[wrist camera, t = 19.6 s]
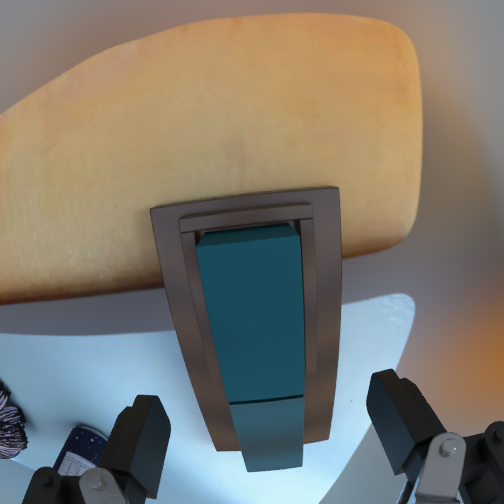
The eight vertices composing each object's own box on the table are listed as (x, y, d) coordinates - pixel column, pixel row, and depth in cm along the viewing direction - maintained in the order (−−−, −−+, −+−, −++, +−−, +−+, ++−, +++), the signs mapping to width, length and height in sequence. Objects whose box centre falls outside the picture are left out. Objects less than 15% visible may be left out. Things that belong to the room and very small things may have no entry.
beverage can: (67, 418, 22) (29, 489, 11) (103, 426, 22) (68, 508, 11) (88, 446, 24) (60, 512, 12) (123, 453, 24) (99, 528, 12)
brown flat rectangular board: (155, 206, 16) (127, 217, 12) (333, 185, 16) (361, 191, 12) (217, 442, 23) (214, 477, 19) (326, 431, 23) (335, 464, 18)
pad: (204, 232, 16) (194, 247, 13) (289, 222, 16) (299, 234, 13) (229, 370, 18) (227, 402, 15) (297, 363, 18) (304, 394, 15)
